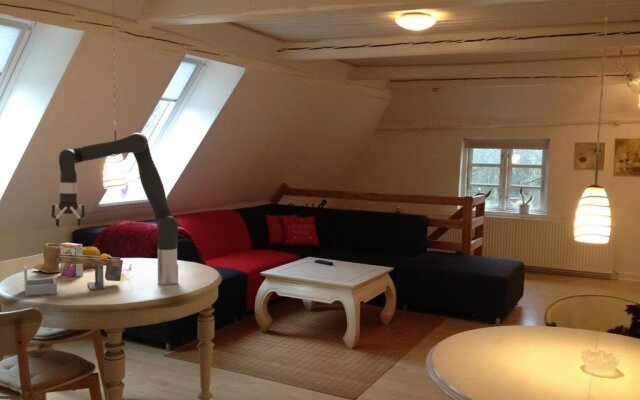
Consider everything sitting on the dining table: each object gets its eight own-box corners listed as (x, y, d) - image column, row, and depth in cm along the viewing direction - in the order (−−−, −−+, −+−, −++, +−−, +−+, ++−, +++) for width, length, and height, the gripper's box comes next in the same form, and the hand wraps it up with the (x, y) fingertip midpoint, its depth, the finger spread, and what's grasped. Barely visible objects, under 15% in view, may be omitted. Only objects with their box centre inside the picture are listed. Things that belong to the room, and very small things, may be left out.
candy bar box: (59, 275, 300) (59, 243, 299) (67, 273, 305) (67, 242, 303) (75, 277, 295) (75, 245, 294) (83, 275, 300) (83, 244, 298)
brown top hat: (68, 272, 307) (67, 244, 306) (45, 275, 298) (44, 246, 297) (55, 267, 317) (54, 240, 316) (32, 271, 308) (32, 242, 307)
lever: (115, 275, 290) (118, 253, 290) (120, 281, 278) (123, 258, 278) (53, 272, 277) (56, 249, 276) (56, 278, 264) (59, 254, 264)
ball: (107, 261, 280) (108, 253, 280) (108, 263, 276) (109, 254, 276) (98, 261, 278) (99, 252, 278) (100, 262, 274) (100, 254, 274)
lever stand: (100, 283, 284) (100, 259, 282) (104, 289, 272) (104, 264, 271) (87, 284, 281) (87, 260, 280) (91, 290, 269) (90, 265, 268)
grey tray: (54, 287, 274) (54, 262, 273) (56, 293, 263) (56, 267, 262) (24, 290, 268) (23, 264, 267) (25, 296, 257) (24, 269, 255)
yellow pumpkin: (70, 267, 320) (70, 246, 319) (93, 264, 329) (93, 243, 328) (82, 270, 311) (82, 249, 310) (105, 267, 321) (104, 246, 320)
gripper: (84, 191, 280) (83, 225, 281) (51, 191, 274) (51, 225, 275) (85, 192, 273) (85, 227, 274) (51, 192, 267) (51, 227, 268)
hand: (68, 226), depth 275 cm, fingers open, 8 cm apart
